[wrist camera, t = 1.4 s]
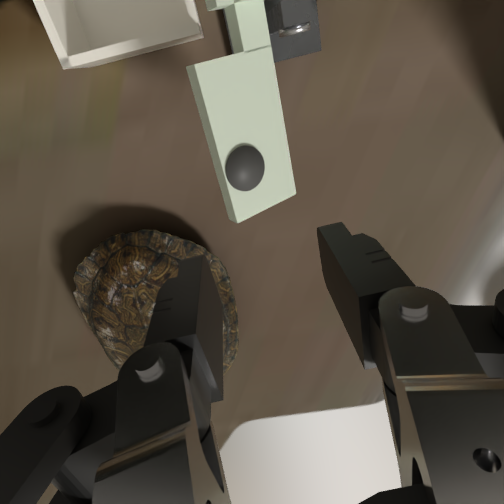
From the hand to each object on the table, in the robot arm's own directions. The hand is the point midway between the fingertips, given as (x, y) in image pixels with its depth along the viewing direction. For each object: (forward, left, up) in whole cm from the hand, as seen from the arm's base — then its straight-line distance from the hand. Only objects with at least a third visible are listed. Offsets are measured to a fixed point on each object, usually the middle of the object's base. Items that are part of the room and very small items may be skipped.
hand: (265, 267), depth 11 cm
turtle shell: (+12, +16, -24) cm, 31 cm away
